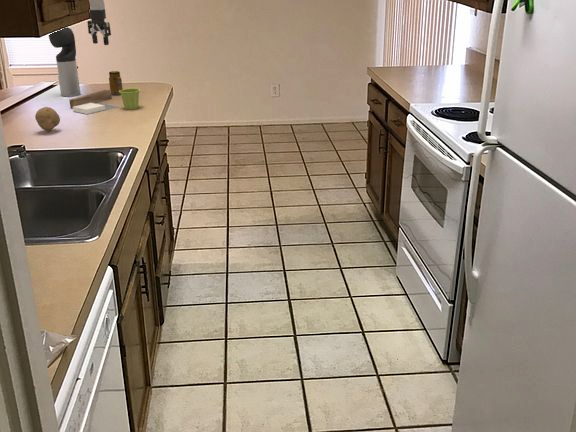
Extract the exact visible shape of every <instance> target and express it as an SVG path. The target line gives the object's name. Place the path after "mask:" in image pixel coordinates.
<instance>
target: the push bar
mask: <svg viewBox="0 0 576 432" xmlns="http://www.w3.org/2000/svg"><path fill="white" fill-rule="evenodd" d="M112 96H113V95H111V90H109V89H103V90H100V91H95V92H92V93H89V94H88V93H87V94H85V95H79V96H76V97H73V98H70V99H69V107H70V109H72V110H73V107H74V106H79V105H83V104H88V103H95V104H100V103H102V102H104V101H105V102H106V101H108V100H112V99H113V98H112Z"/></svg>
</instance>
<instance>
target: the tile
mask: <svg viewBox="0 0 576 432" xmlns="http://www.w3.org/2000/svg"><path fill="white" fill-rule="evenodd" d="M100 104H101V103H88V104H83V105H79V106H74V107H73V109H72V111H73V112H75V113H76V112H77V113H79V114H84V115H89V114H90V115H91V114H92V113H93V114H95V113H94V112H98V111H102V110H105V105H100ZM102 112H103V111H102ZM98 113H99V112H98Z"/></svg>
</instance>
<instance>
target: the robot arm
mask: <svg viewBox="0 0 576 432" xmlns="http://www.w3.org/2000/svg"><path fill="white" fill-rule="evenodd" d="M90 7H91V9H90V18H89V20H87V30H88V32H87V33H88V34H89V35H91V40H92V42H93V44H98V43H99V41H98V32H99V33H100V34H102V36H103V37H102V39H103V45H104V46H109V44H110V40H109V37H111V35H112V32H111V31H112V30H111V26H110V25H111V24H110V22H109V21H107V22H105V20H106V18H107V12H106V6H105V0H90ZM66 27H67V28H64V29H62V30H60V31H57V32H54V33H52V34H50V35H48V39H49V42H50V44H51V45H52V47H53V48H56V49H58V48H60V49H61V50H60V51H59V53H58V54H56V56H55V61H56V66H57V73H58V76H57V77H58V85H59V90H60V95H61V96H63V97H75V96H76V97H78V96H81V93H82V92H81V87H80V78H79V72H78V66H77V59H76V56H77V48H76V38H75V34H74V32H73V30H72V29H71V28H70V27H69V26H66Z"/></svg>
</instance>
